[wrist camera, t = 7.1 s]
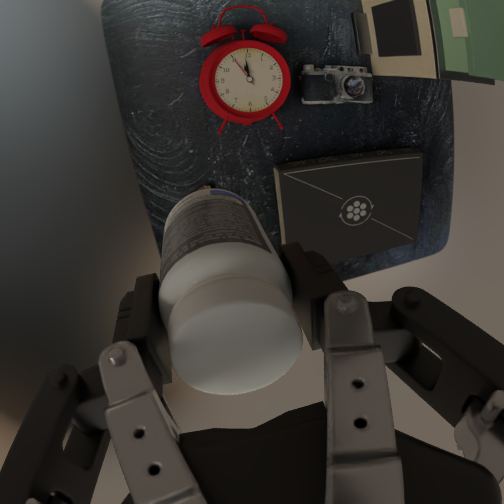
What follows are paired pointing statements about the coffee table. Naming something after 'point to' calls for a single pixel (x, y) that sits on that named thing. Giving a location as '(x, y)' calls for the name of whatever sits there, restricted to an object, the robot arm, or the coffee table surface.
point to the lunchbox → (473, 36)
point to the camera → (335, 85)
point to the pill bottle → (225, 297)
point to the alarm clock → (244, 73)
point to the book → (350, 202)
